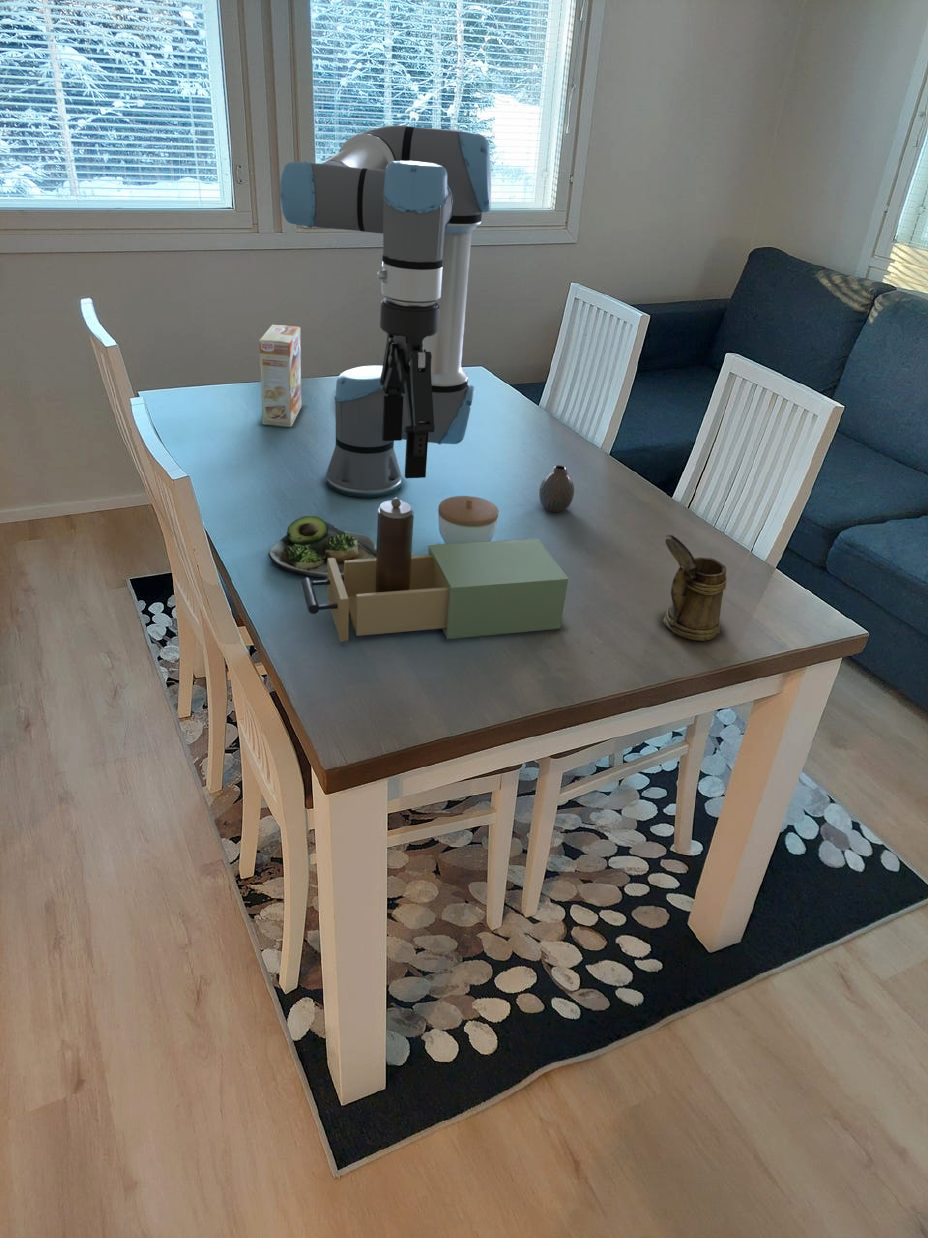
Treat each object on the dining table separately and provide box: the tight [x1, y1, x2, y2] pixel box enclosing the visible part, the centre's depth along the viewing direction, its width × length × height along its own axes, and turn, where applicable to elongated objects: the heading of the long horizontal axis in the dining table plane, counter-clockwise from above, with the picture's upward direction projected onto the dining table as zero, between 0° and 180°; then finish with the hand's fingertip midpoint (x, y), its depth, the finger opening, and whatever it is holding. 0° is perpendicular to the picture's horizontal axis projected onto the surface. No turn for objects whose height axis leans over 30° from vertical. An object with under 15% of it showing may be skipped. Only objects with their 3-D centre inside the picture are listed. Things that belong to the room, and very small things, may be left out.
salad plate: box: [267, 515, 377, 579], centre depth 149 cm, size 19×18×5 cm
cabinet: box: [427, 537, 569, 640], centre depth 137 cm, size 19×14×9 cm
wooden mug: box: [663, 534, 728, 642], centre depth 135 cm, size 9×14×18 cm, turn 118°
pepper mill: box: [375, 497, 415, 593], centre depth 129 cm, size 5×5×19 cm
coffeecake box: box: [258, 324, 302, 428], centre depth 202 cm, size 15×7×20 cm, turn 179°
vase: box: [538, 464, 575, 513], centre depth 173 cm, size 7×7×9 cm
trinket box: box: [437, 495, 500, 544], centre depth 155 cm, size 11×11×9 cm
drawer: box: [300, 554, 450, 642], centre depth 132 cm, size 22×12×7 cm, turn 106°
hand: (402, 457), depth 121 cm, fingers open, 13 cm apart
